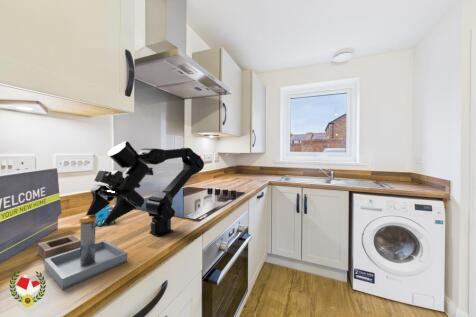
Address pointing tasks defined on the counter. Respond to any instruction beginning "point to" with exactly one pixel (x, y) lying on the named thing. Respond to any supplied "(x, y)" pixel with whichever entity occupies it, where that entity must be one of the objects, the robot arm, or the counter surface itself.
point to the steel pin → (87, 239)
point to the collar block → (58, 246)
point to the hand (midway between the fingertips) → (95, 220)
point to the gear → (103, 215)
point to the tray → (71, 272)
